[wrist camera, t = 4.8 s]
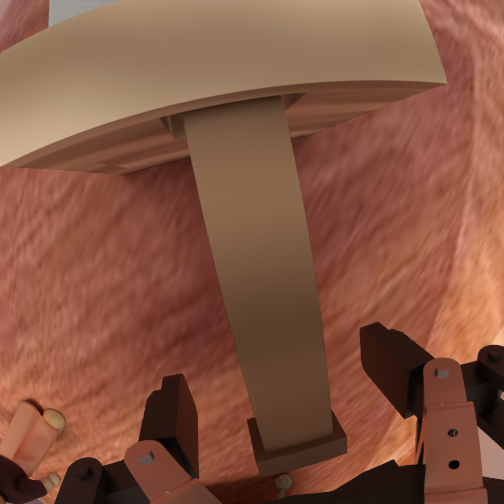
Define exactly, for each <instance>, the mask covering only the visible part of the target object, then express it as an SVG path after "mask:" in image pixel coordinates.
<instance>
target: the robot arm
mask: <svg viewBox="0 0 504 504" xmlns="http://www.w3.org/2000/svg"><path fill="white" fill-rule="evenodd" d="M360 347H361V362H362V366H363V369H364V371H365V372H366V374H367V375H368V376H369V377H370V378H371V380H372V381H373V382H374V383H375V384H376V386H377V387H378V388H379V389H380V390H381V392H382V393H383V394H384V395H385V397H386V398H387V399H388V400H389V401H390V403H391V404H392V405H393V406H394V407H395V409H396V410H397V411H398V412H399V413H400V415H401V416H402V417H403V418H404V419H406V418H409V417H411V416H413V415H415V416H416V417H417V422H416V438H415V453H414V463H413V465H404V466H398V465H397V463H396V462H395V460H394V459H393V460H391V461H389V462H386V463H384V464H382V465H379V466H377V467H375V468H372V469H370V470H368V471H365V472H363V473H361V474H360V475H358V476H357V477H355V478H353V479H352V480H350V481H349V482H347V483H345V484H344V485H342V486H340V487H339V488H337V489H335V490H333V491H330V492H322V493H313V494H302V495H293V496H289V497H285V498H281V499H277V500H272V501H268V502H263V503H259V504H504V480H501V479H495V478H489V477H483V476H482V466H481V454H480V444H479V436H478V428H477V426H478V427H479V428H480V429H481V430H483V431H484V432H485V433H486V434H487V435H488V436H489V437H490V438H492V439H493V440H494V441H495V442H496V443H497V444H498V445H499V446H500V447H501V448H502V449H504V400H502V399H501V398H500V397H501V394H502V391H503V392H504V347H503V346H500V345H488V346H485V347H483V348H482V349H481V350H480V351H479V352H478V357H477V361H474V362H470V363H466V364H462V365H459V363H458V362H457V361H455V360H453V359H450V358H436V359H435V358H434V357H433V356H432V355H430V354H429V353H428V352H427V351H425V350H424V349H423V348H422V347H420V346H419V345H418V344H416V343H415V342H414V341H413V340H412V339H411V340H410V338H409V337H408V336H407V335H405V334H404V333H403V332H400V331H397V330H394V329H390V330H388V329H387V328H385V327H384V326H383V325H382V324H381V323H379V322H375V323H373V324H370V325H367V326H364V327H361V328H360ZM197 479H199V462H198V415H197V410H196V406H195V403H194V400H193V398H192V395H191V393H190V390H189V388H188V385H187V383H186V380H185V377H184V375H183V374H176V375H171V376H165V377H163V381H162V387H161V390H156V391H153V392H152V394H151V395H150V396H149V398H148V399H147V402H146V406H145V411H144V418H143V420H142V425H141V430H140V435H139V440H138V442H137V443H135V444H134V445H132V446H131V447H130V448H129V449H128V450H127V451H126V453H125V456H124V459H123V460H121V461H118V462H115V463H111V464H108V465H104V466H102V464H101V463H100V462H99V461H98V460H97V459H95V458H90V457H86V458H81V459H79V460H77V461H75V462H74V463H72V464H71V465H70V466H69V468H68V470H67V472H66V474H65V477H64V479H63V482H62V485H61V487H60V490H59V492H58V495H57V498H56V500H55V503H54V504H222V503H221V502H220V501H219V500H218V499H217V498H216V497H215V496H214V495H213V494H212V493H211V492H210V491H209V490H208V489H207V488H206V487H205V486H203V485H202V484H201V483H200V482H199V481H198V480H197Z"/></svg>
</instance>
